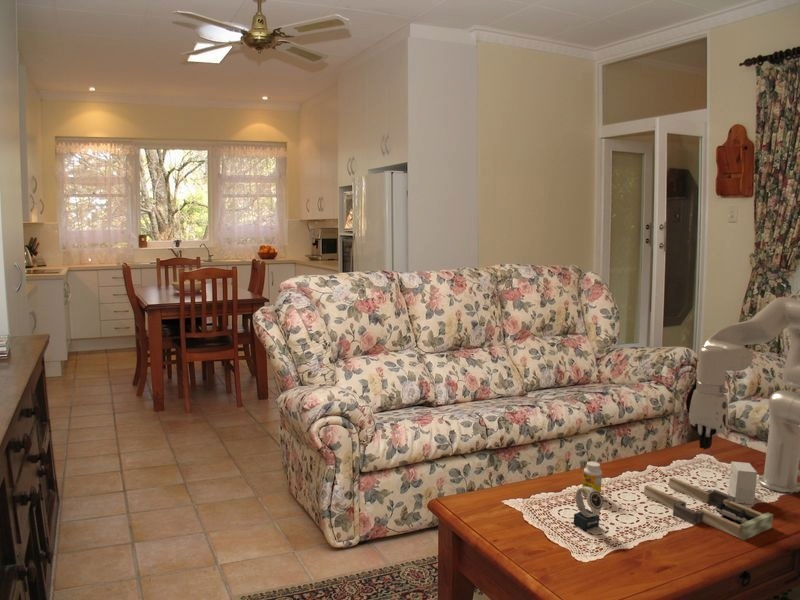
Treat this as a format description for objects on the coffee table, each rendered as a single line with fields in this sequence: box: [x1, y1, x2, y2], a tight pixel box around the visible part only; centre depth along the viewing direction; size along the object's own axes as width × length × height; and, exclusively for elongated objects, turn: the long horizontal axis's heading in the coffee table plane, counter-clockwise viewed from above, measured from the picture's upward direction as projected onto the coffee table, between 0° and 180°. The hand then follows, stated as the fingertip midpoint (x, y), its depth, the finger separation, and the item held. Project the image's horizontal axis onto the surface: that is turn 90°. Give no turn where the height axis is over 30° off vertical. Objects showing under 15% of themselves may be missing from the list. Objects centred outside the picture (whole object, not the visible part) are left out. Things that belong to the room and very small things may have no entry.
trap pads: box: [706, 500, 720, 507], centre depth 209 cm, size 18×5×1 cm, turn 124°
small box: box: [727, 461, 758, 505], centre depth 217 cm, size 8×6×10 cm
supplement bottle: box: [581, 461, 603, 498], centre depth 217 cm, size 6×6×10 cm
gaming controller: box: [715, 501, 755, 525], centre depth 203 cm, size 11×4×7 cm
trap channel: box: [643, 477, 774, 541], centre depth 208 cm, size 21×33×4 cm, turn 34°
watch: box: [573, 487, 604, 532], centre depth 197 cm, size 6×8×11 cm
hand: (705, 447), depth 208 cm, fingers closed
